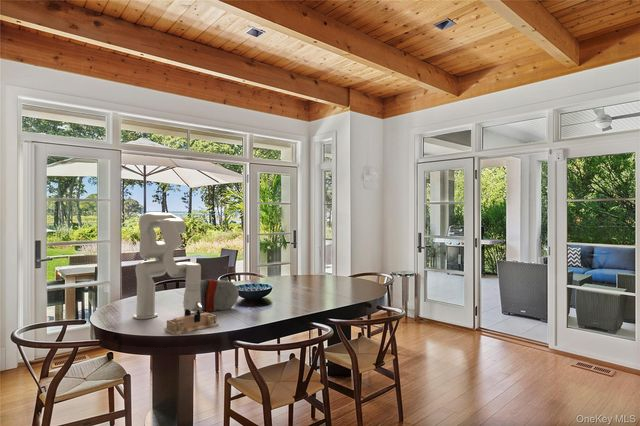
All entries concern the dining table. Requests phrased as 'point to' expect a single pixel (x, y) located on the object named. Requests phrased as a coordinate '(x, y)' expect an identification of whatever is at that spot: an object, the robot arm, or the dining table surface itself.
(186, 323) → the clay strip
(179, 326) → the plank with end blocks
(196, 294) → the robot arm
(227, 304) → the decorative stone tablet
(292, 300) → the dining table surface
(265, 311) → the dining table surface
